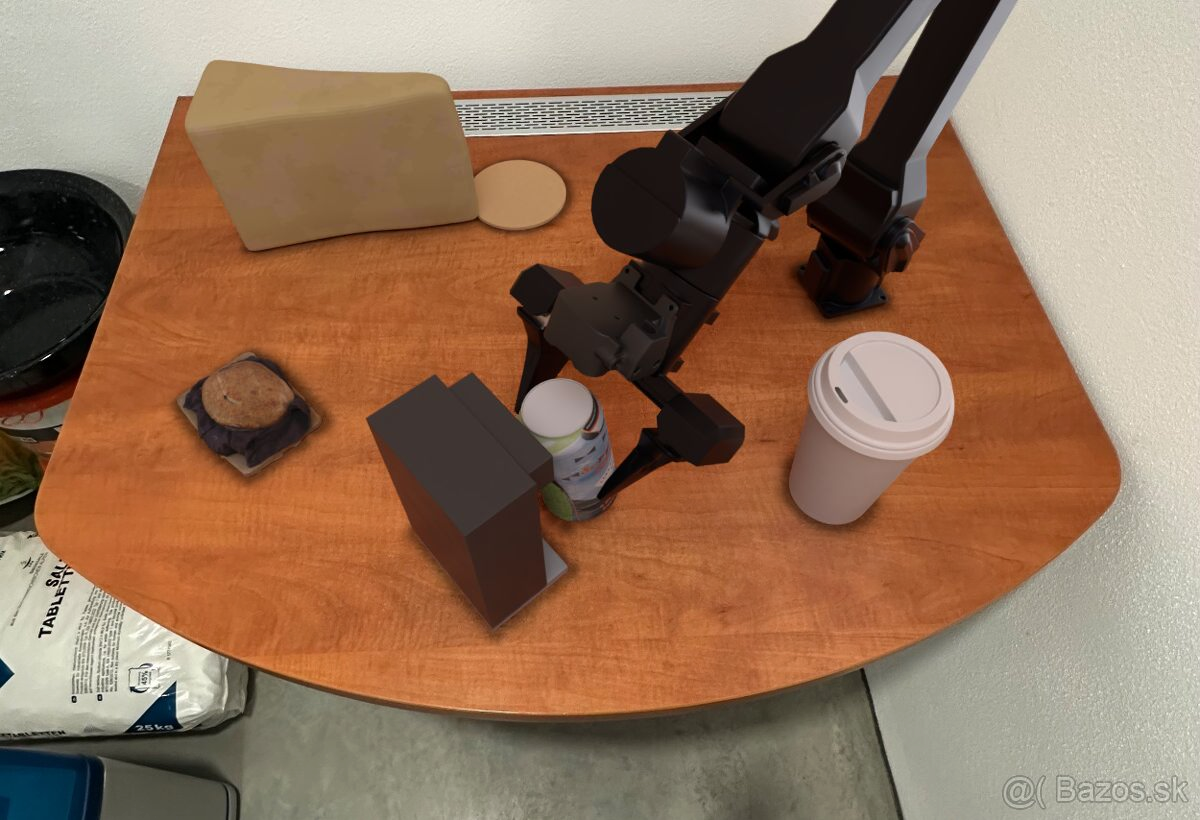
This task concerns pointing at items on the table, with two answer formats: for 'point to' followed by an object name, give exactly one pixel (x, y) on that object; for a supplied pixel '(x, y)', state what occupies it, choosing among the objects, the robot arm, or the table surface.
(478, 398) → the coffee machine
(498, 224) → the coaster
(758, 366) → the table surface
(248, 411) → the bread roll
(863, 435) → the coffee cup
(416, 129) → the tan wedge block
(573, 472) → the beverage can
